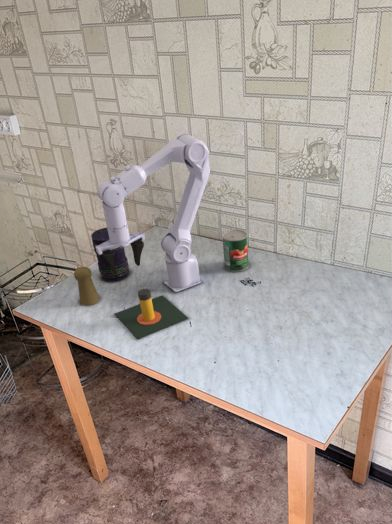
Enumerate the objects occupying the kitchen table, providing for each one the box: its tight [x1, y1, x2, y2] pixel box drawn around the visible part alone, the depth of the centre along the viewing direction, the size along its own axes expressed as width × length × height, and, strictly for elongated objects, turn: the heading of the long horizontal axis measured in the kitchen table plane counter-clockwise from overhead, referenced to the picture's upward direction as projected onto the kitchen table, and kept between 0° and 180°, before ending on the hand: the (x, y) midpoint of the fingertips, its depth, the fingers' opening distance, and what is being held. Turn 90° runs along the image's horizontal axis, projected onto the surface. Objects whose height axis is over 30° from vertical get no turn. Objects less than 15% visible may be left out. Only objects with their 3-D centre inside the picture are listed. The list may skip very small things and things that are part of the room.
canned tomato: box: [221, 229, 250, 273], centre depth 163 cm, size 8×8×11 cm
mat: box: [114, 294, 189, 340], centre depth 147 cm, size 16×16×1 cm
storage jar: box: [90, 227, 131, 283], centre depth 166 cm, size 10×10×15 cm
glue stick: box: [137, 288, 155, 321], centre depth 143 cm, size 4×4×8 cm
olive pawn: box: [73, 266, 100, 306], centre depth 155 cm, size 6×6×11 cm
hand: (126, 268), depth 151 cm, fingers open, 7 cm apart
